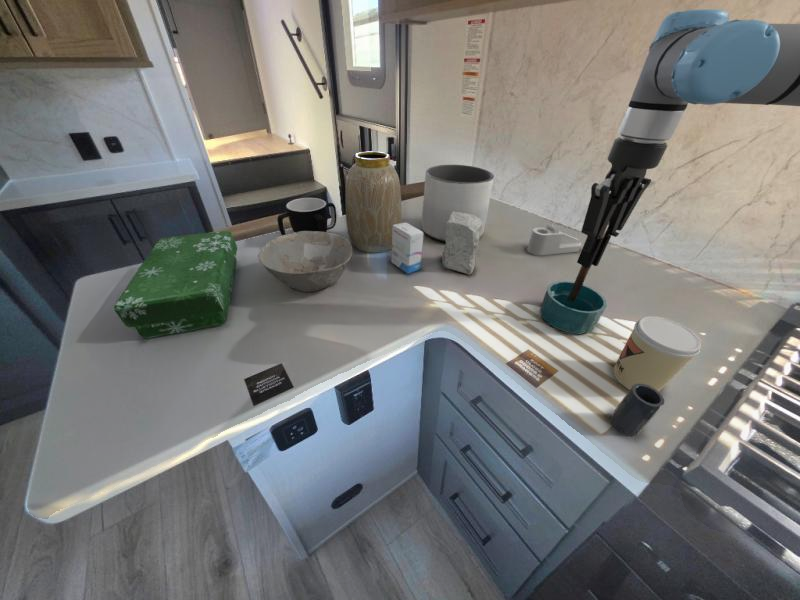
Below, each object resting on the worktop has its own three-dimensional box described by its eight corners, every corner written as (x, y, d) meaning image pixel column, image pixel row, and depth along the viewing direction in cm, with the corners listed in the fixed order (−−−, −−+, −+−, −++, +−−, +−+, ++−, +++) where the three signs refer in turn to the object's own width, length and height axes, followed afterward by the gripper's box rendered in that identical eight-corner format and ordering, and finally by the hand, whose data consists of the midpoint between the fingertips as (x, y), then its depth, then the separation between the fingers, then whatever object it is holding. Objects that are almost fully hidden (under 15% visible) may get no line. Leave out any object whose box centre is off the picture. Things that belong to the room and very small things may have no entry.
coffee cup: (611, 353, 66) (639, 308, 59) (665, 374, 61) (702, 328, 54) (604, 382, 60) (634, 335, 52) (663, 408, 55) (705, 361, 48)
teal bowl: (606, 326, 73) (618, 304, 69) (569, 341, 68) (580, 319, 64) (563, 297, 81) (572, 276, 78) (528, 309, 77) (535, 288, 73)
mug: (300, 227, 112) (294, 193, 105) (343, 231, 110) (340, 197, 103) (277, 247, 100) (268, 210, 92) (325, 253, 97) (320, 216, 90)
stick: (576, 302, 71) (613, 220, 60) (571, 304, 71) (607, 221, 59) (570, 298, 72) (605, 217, 61) (565, 300, 72) (600, 218, 60)
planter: (413, 239, 107) (417, 178, 95) (429, 215, 124) (433, 161, 112) (479, 250, 102) (491, 186, 90) (486, 224, 119) (497, 168, 107)
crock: (644, 429, 52) (670, 400, 47) (628, 440, 50) (653, 410, 46) (620, 409, 55) (643, 379, 50) (604, 419, 53) (625, 389, 49)
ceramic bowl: (337, 315, 74) (333, 279, 68) (249, 300, 77) (237, 265, 71) (366, 268, 91) (364, 236, 85) (293, 257, 95) (286, 226, 89)
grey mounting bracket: (582, 251, 103) (592, 228, 98) (533, 256, 99) (540, 232, 95) (571, 243, 107) (579, 221, 102) (523, 247, 104) (530, 224, 99)
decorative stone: (436, 270, 91) (442, 222, 82) (442, 255, 98) (448, 210, 89) (472, 276, 89) (481, 227, 80) (476, 261, 96) (485, 215, 87)
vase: (406, 253, 99) (410, 161, 83) (351, 258, 95) (343, 163, 79) (394, 230, 112) (395, 148, 96) (345, 234, 109) (338, 149, 92)
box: (231, 329, 69) (216, 291, 63) (133, 345, 64) (108, 306, 58) (243, 260, 93) (233, 228, 87) (172, 268, 88) (157, 235, 82)
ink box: (421, 269, 91) (424, 231, 84) (407, 274, 89) (409, 235, 82) (404, 257, 96) (405, 220, 89) (390, 262, 94) (391, 224, 87)
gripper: (646, 132, 57) (594, 249, 71) (591, 137, 52) (547, 262, 66) (692, 140, 52) (626, 265, 66) (636, 146, 46) (577, 280, 60)
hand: (587, 263), depth 66 cm, fingers closed on stick, 1 cm apart
